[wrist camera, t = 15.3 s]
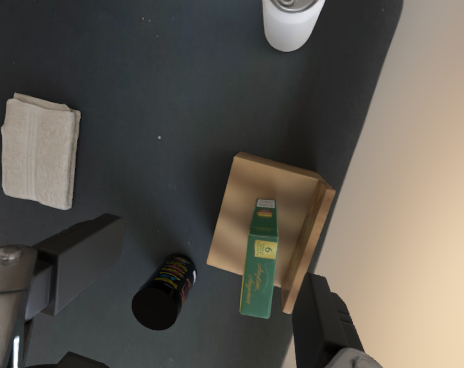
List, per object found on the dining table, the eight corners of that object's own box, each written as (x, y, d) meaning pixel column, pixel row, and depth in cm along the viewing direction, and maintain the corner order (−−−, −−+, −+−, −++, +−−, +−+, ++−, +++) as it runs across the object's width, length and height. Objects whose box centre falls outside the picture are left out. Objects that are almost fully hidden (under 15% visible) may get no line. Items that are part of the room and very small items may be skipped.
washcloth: (84, 106, 43) (69, 105, 40) (75, 209, 47) (62, 215, 44) (18, 91, 44) (-1, 89, 41) (16, 193, 48) (-1, 197, 45)
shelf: (240, 151, 41) (228, 160, 29) (316, 172, 40) (336, 191, 28) (215, 243, 45) (196, 284, 33) (285, 264, 44) (290, 314, 32)
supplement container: (159, 251, 46) (128, 286, 36) (196, 252, 45) (175, 288, 35) (163, 286, 48) (134, 329, 38) (199, 287, 47) (180, 332, 37)
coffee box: (255, 194, 35) (246, 233, 22) (277, 197, 34) (281, 238, 22) (249, 251, 36) (237, 317, 24) (270, 254, 36) (269, 322, 23)
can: (255, 37, 37) (248, -4, 26) (281, -9, 36) (286, -76, 24) (294, 61, 37) (305, 31, 25) (322, 17, 35) (347, -37, 24)
